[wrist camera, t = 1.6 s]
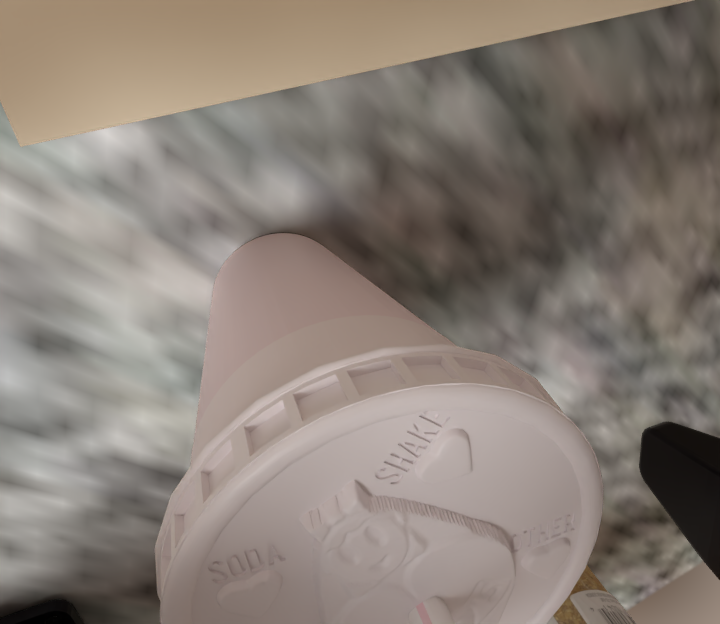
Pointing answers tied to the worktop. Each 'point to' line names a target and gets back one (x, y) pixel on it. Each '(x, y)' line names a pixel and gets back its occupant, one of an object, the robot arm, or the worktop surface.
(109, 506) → the worktop surface
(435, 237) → the worktop surface
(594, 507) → the smoothie
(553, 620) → the sprinkles bottle
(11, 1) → the slot board
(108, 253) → the worktop surface
